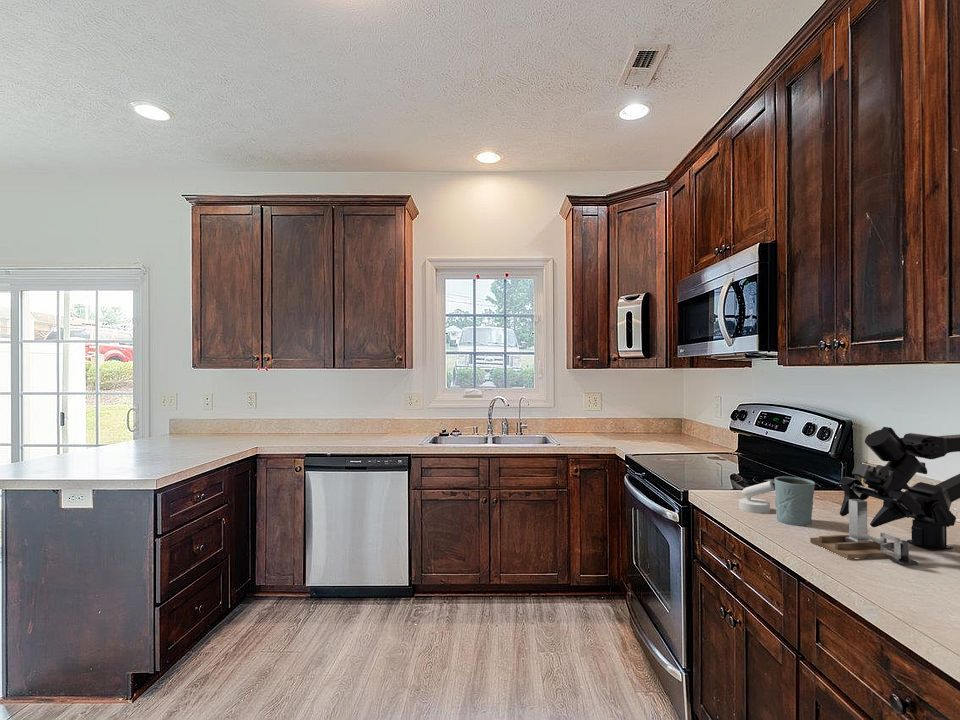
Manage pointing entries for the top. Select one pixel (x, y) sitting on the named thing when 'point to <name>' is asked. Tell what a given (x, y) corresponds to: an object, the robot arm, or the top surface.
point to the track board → (850, 547)
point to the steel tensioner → (860, 528)
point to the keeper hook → (904, 553)
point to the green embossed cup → (794, 500)
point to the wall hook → (753, 503)
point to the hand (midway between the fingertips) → (855, 520)
